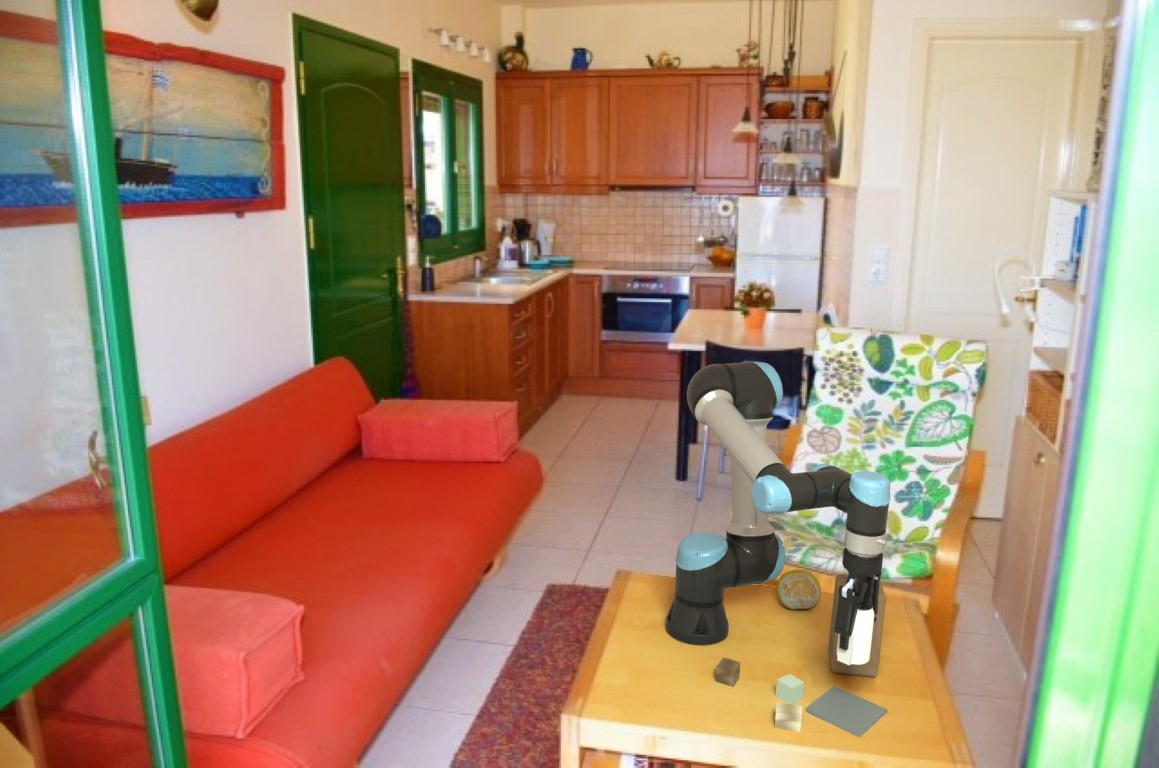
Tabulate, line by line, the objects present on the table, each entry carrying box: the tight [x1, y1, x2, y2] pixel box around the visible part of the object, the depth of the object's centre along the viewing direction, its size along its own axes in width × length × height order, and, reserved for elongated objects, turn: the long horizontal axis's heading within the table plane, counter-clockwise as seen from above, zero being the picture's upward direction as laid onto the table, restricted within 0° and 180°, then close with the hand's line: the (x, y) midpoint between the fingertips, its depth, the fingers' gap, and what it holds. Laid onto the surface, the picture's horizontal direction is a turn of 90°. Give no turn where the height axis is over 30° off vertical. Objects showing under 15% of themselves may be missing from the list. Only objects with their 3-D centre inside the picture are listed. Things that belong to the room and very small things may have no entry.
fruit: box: [776, 569, 822, 610], centre depth 225 cm, size 10×11×10 cm
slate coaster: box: [805, 685, 888, 738], centre depth 182 cm, size 12×12×1 cm
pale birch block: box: [774, 701, 803, 733], centre depth 176 cm, size 5×3×4 cm, turn 76°
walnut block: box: [715, 657, 741, 688], centre depth 192 cm, size 4×4×4 cm
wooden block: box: [827, 573, 887, 678], centre depth 198 cm, size 10×10×20 cm
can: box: [837, 601, 874, 665], centre depth 178 cm, size 6×6×12 cm
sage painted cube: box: [775, 673, 805, 705], centre depth 186 cm, size 4×4×4 cm
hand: (852, 655), depth 179 cm, fingers closed on can, 6 cm apart
